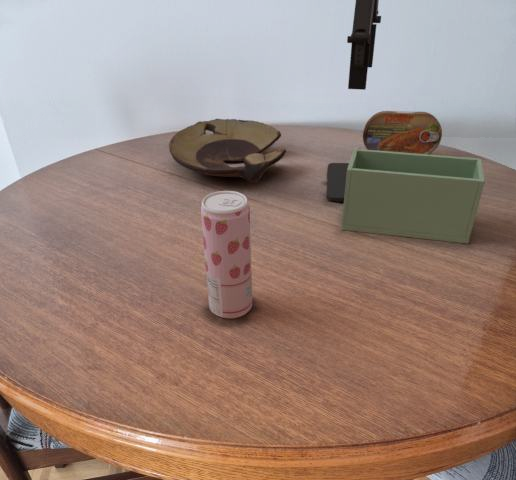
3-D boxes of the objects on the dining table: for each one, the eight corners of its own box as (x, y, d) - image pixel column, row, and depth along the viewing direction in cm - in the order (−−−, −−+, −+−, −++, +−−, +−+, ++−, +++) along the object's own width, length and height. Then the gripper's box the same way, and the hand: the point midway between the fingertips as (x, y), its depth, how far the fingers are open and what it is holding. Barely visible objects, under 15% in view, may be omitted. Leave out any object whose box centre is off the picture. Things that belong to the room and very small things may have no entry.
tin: (360, 155, 110) (365, 112, 104) (361, 150, 112) (365, 107, 107) (437, 159, 108) (446, 115, 102) (436, 153, 110) (444, 110, 105)
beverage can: (256, 316, 70) (254, 208, 60) (212, 322, 69) (203, 214, 59) (247, 291, 74) (244, 187, 64) (206, 297, 73) (196, 192, 63)
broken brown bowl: (280, 141, 116) (281, 103, 111) (293, 204, 94) (294, 161, 89) (176, 144, 116) (172, 106, 111) (163, 208, 93) (157, 165, 88)
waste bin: (466, 218, 89) (481, 158, 82) (468, 243, 83) (485, 181, 76) (348, 206, 93) (353, 148, 86) (341, 230, 87) (347, 169, 80)
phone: (326, 197, 94) (327, 162, 105) (326, 201, 94) (327, 166, 105) (370, 198, 93) (366, 163, 104) (369, 203, 93) (365, 167, 105)
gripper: (357, -89, 87) (346, 58, 101) (338, -80, 68) (328, 98, 82) (405, -90, 85) (387, 59, 99) (399, -81, 67) (378, 100, 81)
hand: (360, 77), depth 91 cm, fingers open, 13 cm apart
